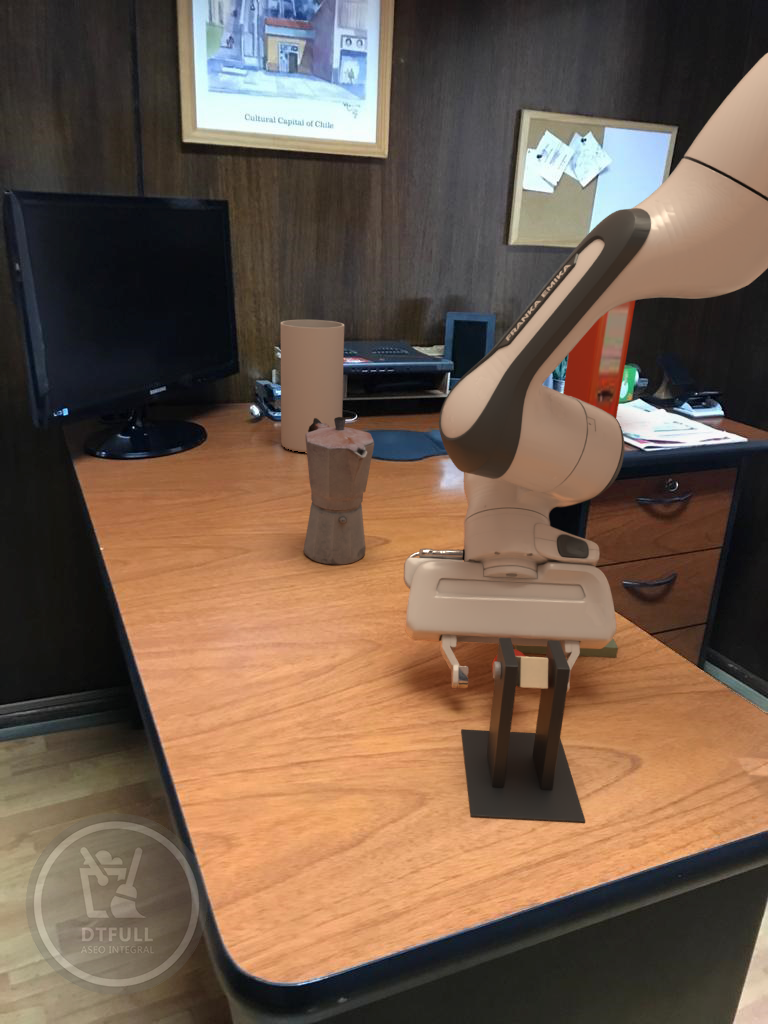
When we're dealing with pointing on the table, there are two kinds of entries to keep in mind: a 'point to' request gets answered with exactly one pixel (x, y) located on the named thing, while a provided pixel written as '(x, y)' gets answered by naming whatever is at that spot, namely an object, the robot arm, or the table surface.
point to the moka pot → (337, 491)
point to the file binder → (601, 360)
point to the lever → (530, 671)
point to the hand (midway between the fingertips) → (509, 689)
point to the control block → (606, 651)
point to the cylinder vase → (310, 377)
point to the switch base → (522, 750)
